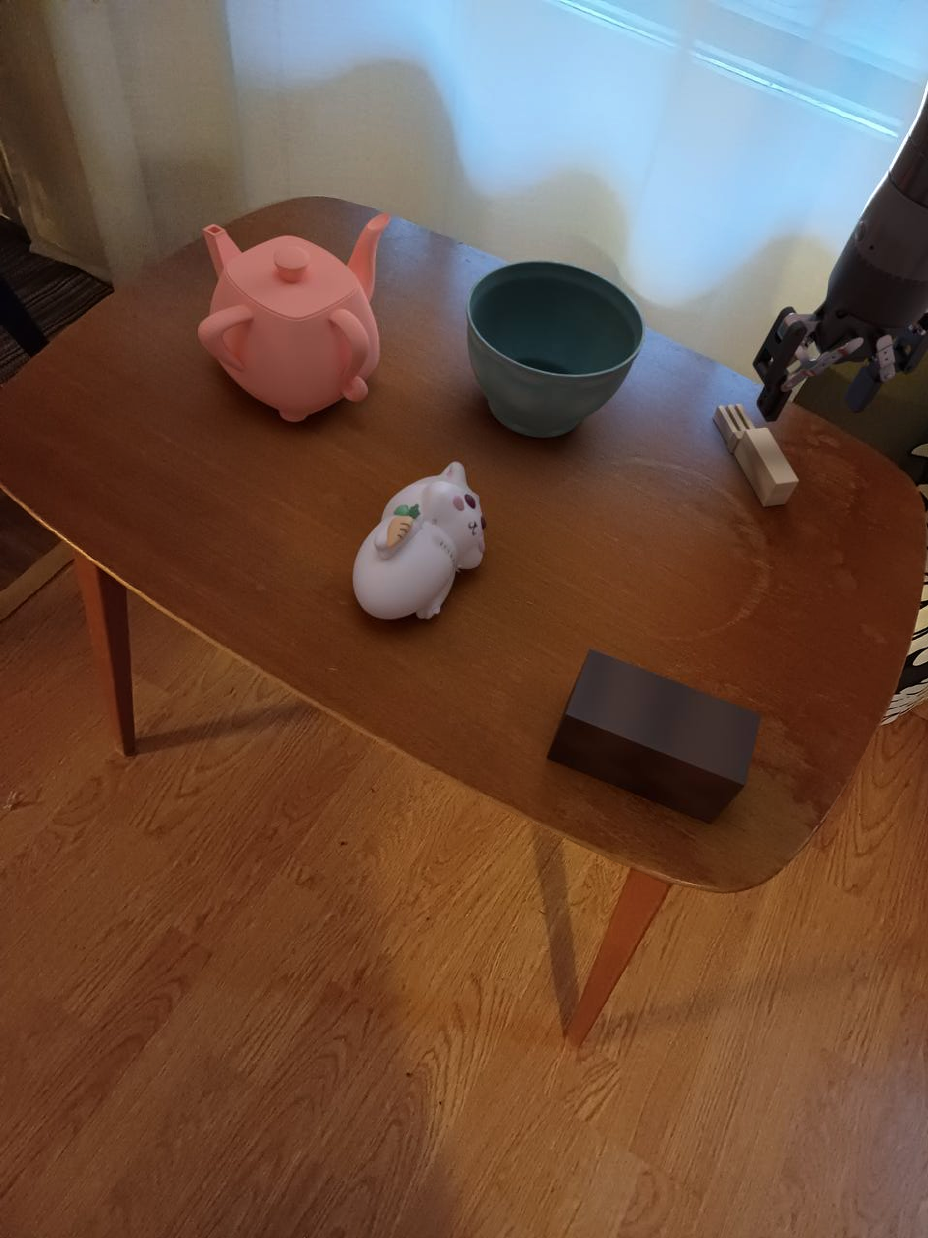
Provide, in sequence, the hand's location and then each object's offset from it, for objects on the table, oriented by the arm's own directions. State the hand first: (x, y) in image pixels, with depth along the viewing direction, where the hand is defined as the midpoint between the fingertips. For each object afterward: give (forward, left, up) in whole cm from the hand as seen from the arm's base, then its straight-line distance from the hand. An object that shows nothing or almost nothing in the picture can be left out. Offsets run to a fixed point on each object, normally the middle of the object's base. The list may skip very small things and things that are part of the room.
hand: (809, 410), depth 80 cm
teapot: (+41, -22, -10) cm, 48 cm away
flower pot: (+19, -14, -10) cm, 26 cm away
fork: (0, -4, -10) cm, 11 cm away
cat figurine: (+35, +4, -10) cm, 37 cm away
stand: (+22, +24, -10) cm, 34 cm away
